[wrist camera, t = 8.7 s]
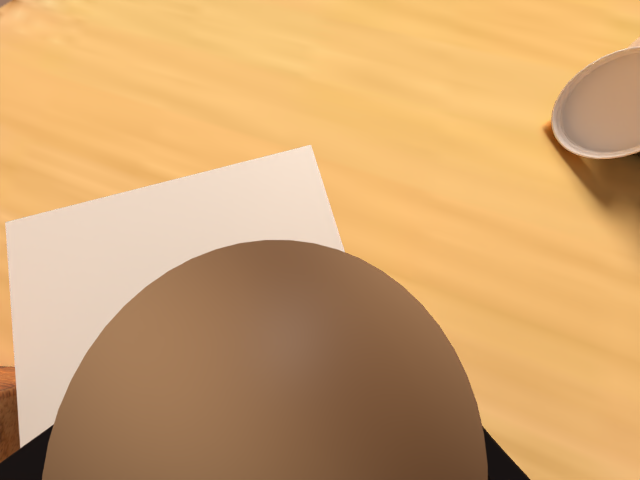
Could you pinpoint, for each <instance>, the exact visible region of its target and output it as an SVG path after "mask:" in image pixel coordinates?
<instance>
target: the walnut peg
mask: <svg viewBox="0 0 640 480" xmlns="http://www.w3.org/2000/svg"><path fill="white" fill-rule="evenodd" d="M42 480H488V465H487V456H486V447H485V439H484V432H483V428H482V423H481V419H480V415H479V410H478V406H477V402H476V400H475V397H474V394H473V391H472V388H471V385H470V383H469V380H468V377H467V374H466V372H465V370H464V368H463V366H462V364H461V362H460V360H459V358H458V356H457V354H456V352H455V350H454V348H453V346H452V345H451V343H450V342H449V340H448V339H447V337H446V336H445V334H444V332H443V331H442V329H441V328H440V326H439V325H438V324H437V322H436V321H435V320H434V319H433V317H432V316H431V315H430V314H429V313H428V311H427V310H426V309H425V308H424V306H423V305H422V304H421V303H420V302H419V301H418V300H417V299H416V298H415V297H413V296H412V295H411V294H410V293H409V292H408V291H407V290H406V289H405V288H404V287H403V286H402V285H400V284H399V283H398V282H396V281H395V280H394V279H392V278H391V277H390V276H388V275H387V274H386V273H384V272H383V271H381V270H379V269H378V268H376V267H374V266H372V265H371V264H369V263H367V262H365V261H364V260H362V259H360V258H357V257H355V256H352V255H350V254H348V253H345V252H343V251H340V250H338V249H334V248H330V247H327V246H323V245H319V244H315V243H309V242H301V241H294V240H260V241H252V242H244V243H238V244H235V245H231V246H227V247H223V248H219V249H215V250H213V251H210V252H207V253H205V254H202V255H200V256H197V257H195V258H192V259H190V260H188V261H186V262H184V263H183V264H181V265H179V266H177V267H175V268H173V269H171V270H170V271H168V272H166V273H165V274H163V275H162V276H161V277H159V278H158V279H156V280H155V281H153V282H152V283H151V284H149V285H148V286H146V287H145V288H144V289H143V290H142V291H140V292H139V293H138V294H137V295H136V296H135V297H134V298H132V299H131V300H130V301H129V302H128V303H127V304H126V305H125V306H124V307H123V308H122V309H121V310H120V311H119V312H118V313H117V314H116V315H115V317H114V318H113V319H112V320H111V321H110V322H109V323H108V324H107V325H106V326H105V328H104V329H103V330H102V332H101V333H100V335H99V336H98V337H97V339H96V340H95V341H94V343H93V344H92V346H91V347H90V348H89V350H88V351H87V353H86V354H85V356H84V358H83V360H82V361H81V363H80V365H79V367H78V369H77V370H76V372H75V374H74V376H73V377H72V379H71V381H70V384H69V386H68V388H67V391H66V393H65V395H64V398H63V400H62V402H61V405H60V407H59V409H58V412H57V416H56V419H55V422H54V426H53V429H52V432H51V435H50V439H49V442H48V448H47V453H46V458H45V464H44V469H43V475H42Z"/></svg>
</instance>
